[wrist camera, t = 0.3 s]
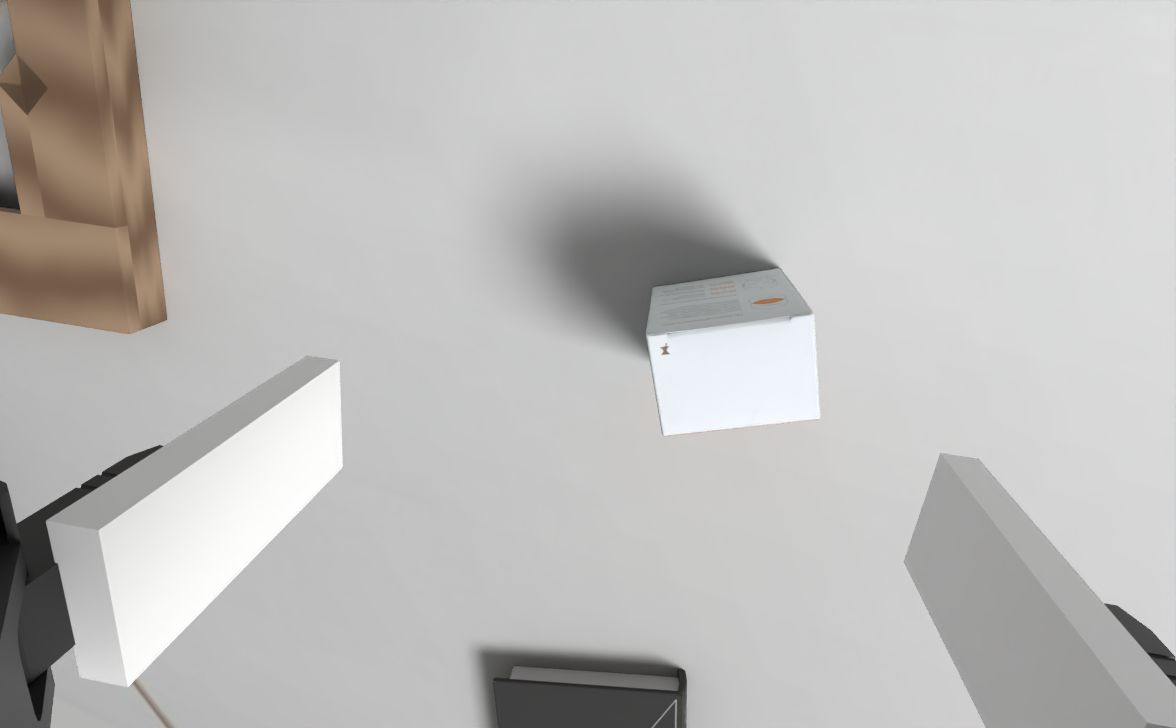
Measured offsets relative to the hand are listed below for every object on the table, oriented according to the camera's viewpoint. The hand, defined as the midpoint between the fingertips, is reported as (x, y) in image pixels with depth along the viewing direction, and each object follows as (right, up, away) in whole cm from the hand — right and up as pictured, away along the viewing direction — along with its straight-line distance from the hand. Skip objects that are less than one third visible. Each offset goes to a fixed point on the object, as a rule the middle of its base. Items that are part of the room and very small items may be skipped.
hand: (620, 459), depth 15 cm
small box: (+8, +5, +27) cm, 29 cm away
